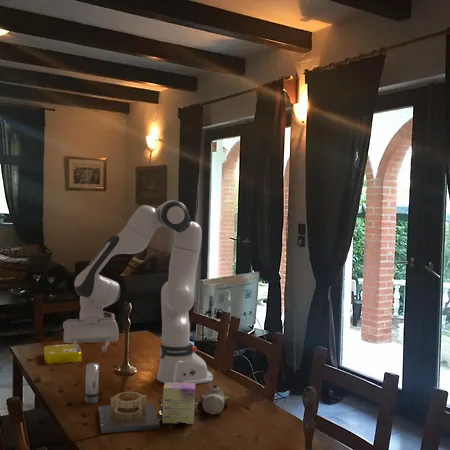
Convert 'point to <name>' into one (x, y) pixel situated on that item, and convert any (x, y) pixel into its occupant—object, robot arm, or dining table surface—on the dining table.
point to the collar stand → (128, 414)
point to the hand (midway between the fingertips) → (91, 351)
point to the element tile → (61, 354)
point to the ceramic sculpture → (214, 400)
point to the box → (178, 403)
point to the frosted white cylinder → (92, 383)
